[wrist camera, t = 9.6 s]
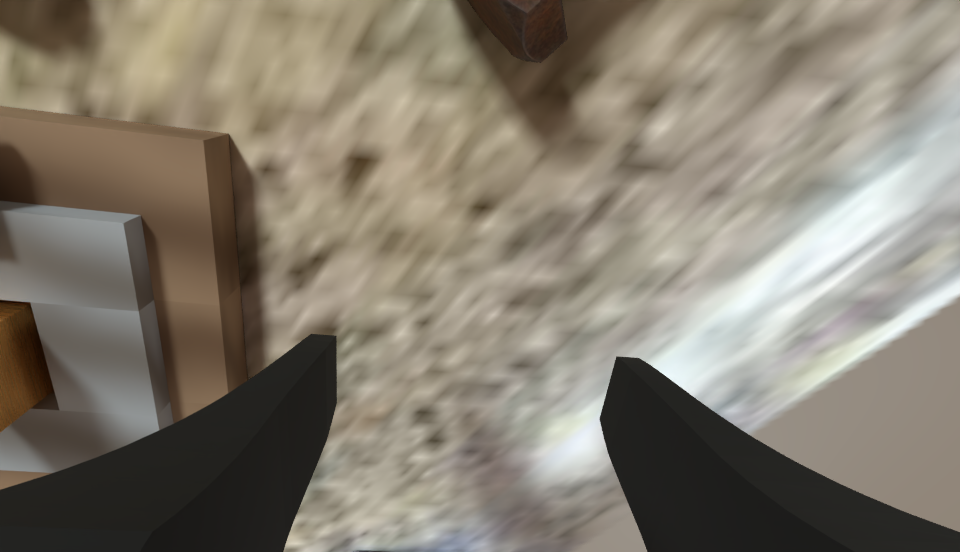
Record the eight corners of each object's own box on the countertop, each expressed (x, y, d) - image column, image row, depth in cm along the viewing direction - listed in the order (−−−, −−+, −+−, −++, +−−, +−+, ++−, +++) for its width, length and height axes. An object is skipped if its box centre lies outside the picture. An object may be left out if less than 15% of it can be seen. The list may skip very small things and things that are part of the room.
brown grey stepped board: (255, 479, 25) (221, 548, 22) (-74, 461, 24) (-170, 532, 20) (228, 133, 18) (172, 148, 15) (-239, 77, 17) (-432, 78, 13)
